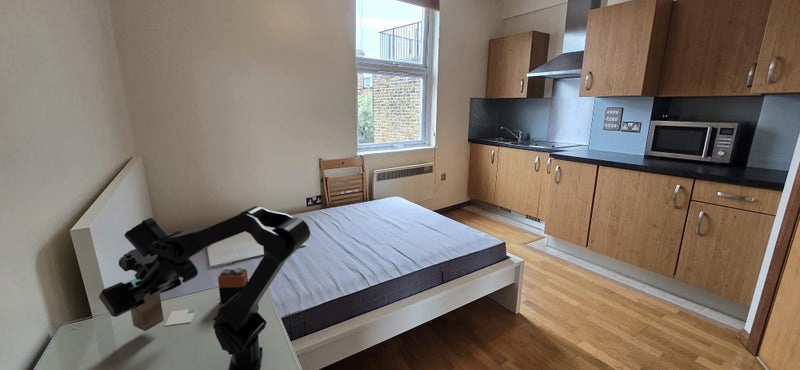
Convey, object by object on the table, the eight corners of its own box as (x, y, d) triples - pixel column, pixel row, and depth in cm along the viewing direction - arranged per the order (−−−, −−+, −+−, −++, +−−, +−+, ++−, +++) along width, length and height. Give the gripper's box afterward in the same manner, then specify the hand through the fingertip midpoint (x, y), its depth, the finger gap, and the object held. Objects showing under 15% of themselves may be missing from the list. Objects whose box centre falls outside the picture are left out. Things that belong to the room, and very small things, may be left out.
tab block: (163, 320, 83) (157, 278, 80) (145, 331, 79) (137, 287, 76) (152, 315, 84) (145, 274, 81) (133, 326, 80) (125, 282, 77)
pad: (190, 322, 87) (190, 321, 87) (164, 326, 85) (164, 325, 85) (196, 308, 92) (196, 307, 92) (172, 312, 90) (171, 311, 90)
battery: (245, 304, 95) (242, 273, 93) (220, 305, 94) (217, 274, 92) (249, 295, 100) (247, 265, 97) (225, 296, 99) (222, 266, 96)
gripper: (184, 226, 83) (161, 256, 89) (95, 257, 66) (75, 291, 73) (210, 261, 82) (185, 289, 89) (126, 301, 65) (103, 332, 72)
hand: (141, 298), depth 80 cm, fingers closed on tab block, 4 cm apart
